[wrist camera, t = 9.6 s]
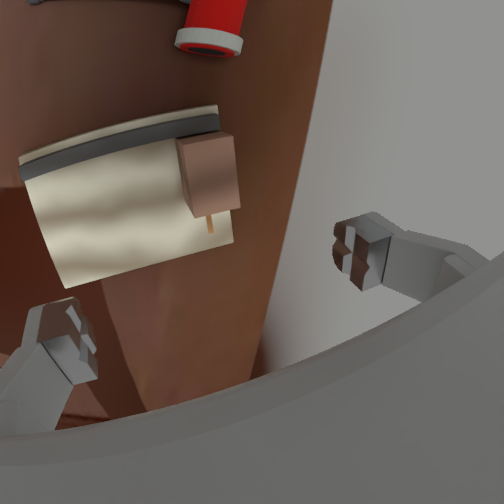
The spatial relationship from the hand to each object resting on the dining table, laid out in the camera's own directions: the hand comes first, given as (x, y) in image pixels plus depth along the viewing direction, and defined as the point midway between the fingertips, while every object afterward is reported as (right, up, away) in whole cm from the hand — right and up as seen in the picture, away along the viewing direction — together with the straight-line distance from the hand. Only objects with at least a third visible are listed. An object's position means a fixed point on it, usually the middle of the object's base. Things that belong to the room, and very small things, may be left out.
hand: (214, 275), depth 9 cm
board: (-12, +7, +23) cm, 27 cm away
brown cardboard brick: (-4, +10, +23) cm, 25 cm away
